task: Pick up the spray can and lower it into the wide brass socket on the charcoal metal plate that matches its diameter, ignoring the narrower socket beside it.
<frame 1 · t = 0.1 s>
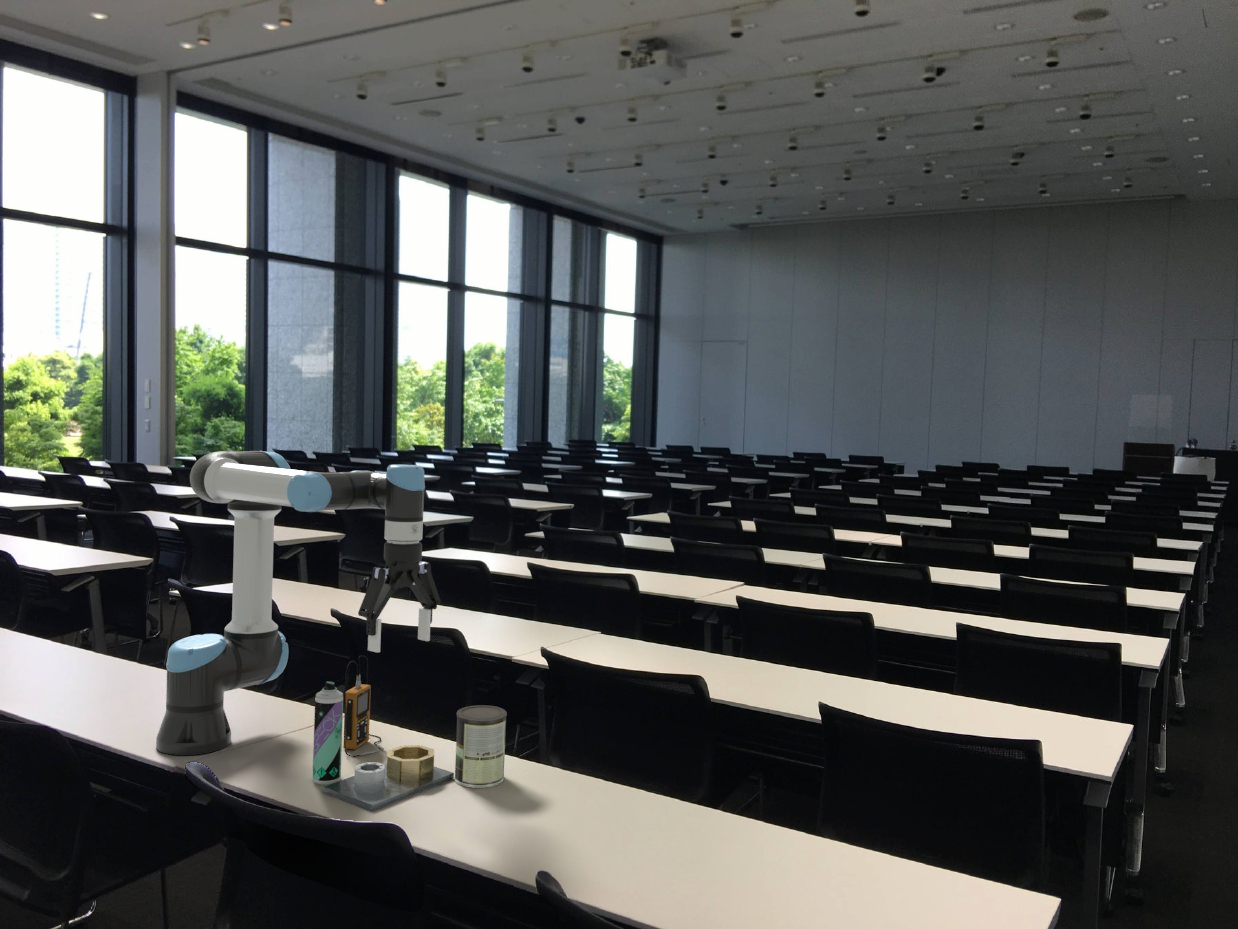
hand: (399, 645, 197), 28 cm above the table, tool pointing down, fingers open, 13 cm apart
multimeter: (371, 748, 217), on the table
fitting plate: (390, 785, 195), on the table
spray can: (326, 780, 197), on the table
coffee can: (479, 780, 201), on the table
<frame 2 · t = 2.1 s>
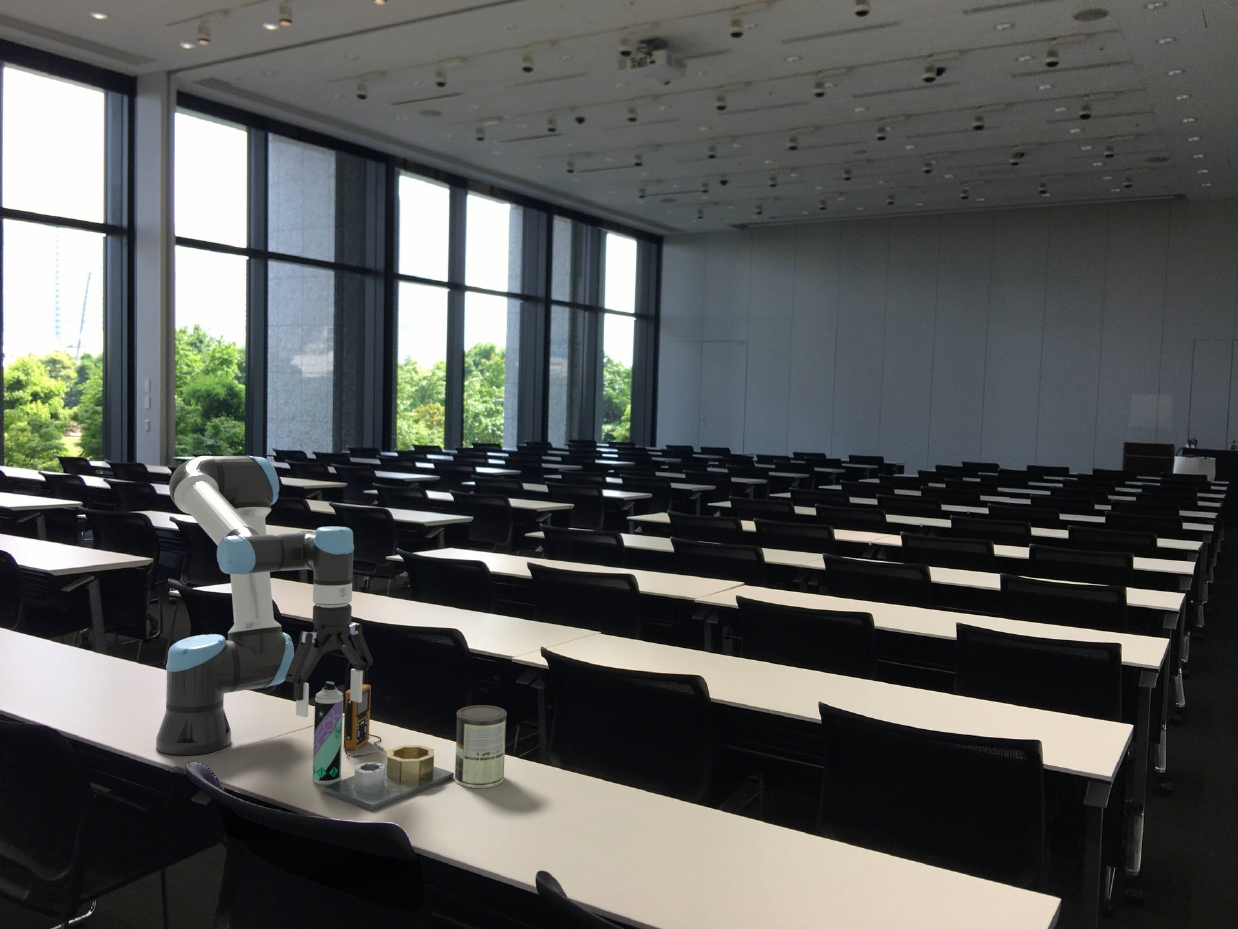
hand: (329, 708, 196), 15 cm above the table, tool pointing down, fingers open, 13 cm apart
nothing on the table moved.
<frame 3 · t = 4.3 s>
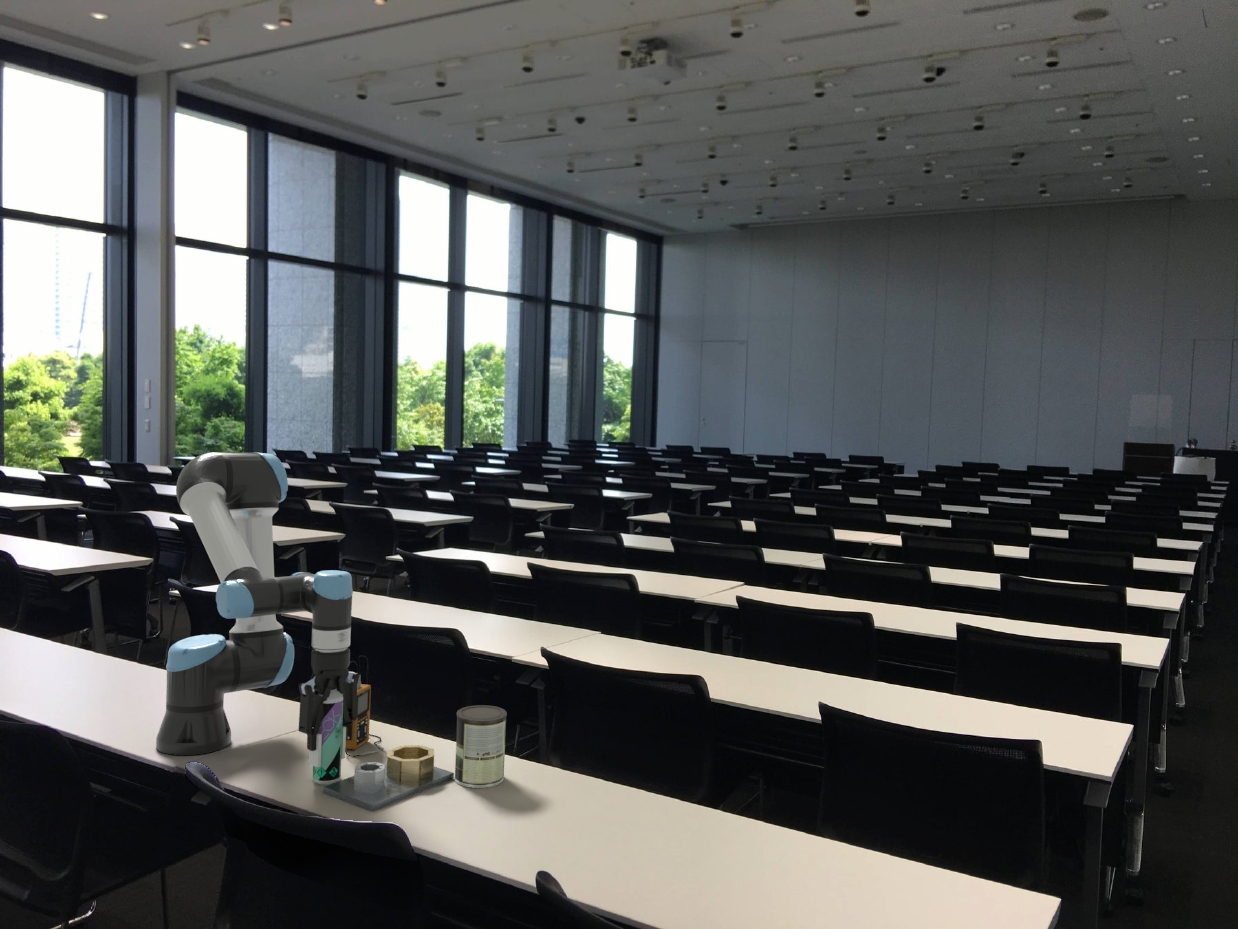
hand: (327, 761, 197), 4 cm above the table, tool pointing down, fingers closed on spray can, 5 cm apart
spray can: (326, 780, 197), on the table, touching gripper
everything else where it was.
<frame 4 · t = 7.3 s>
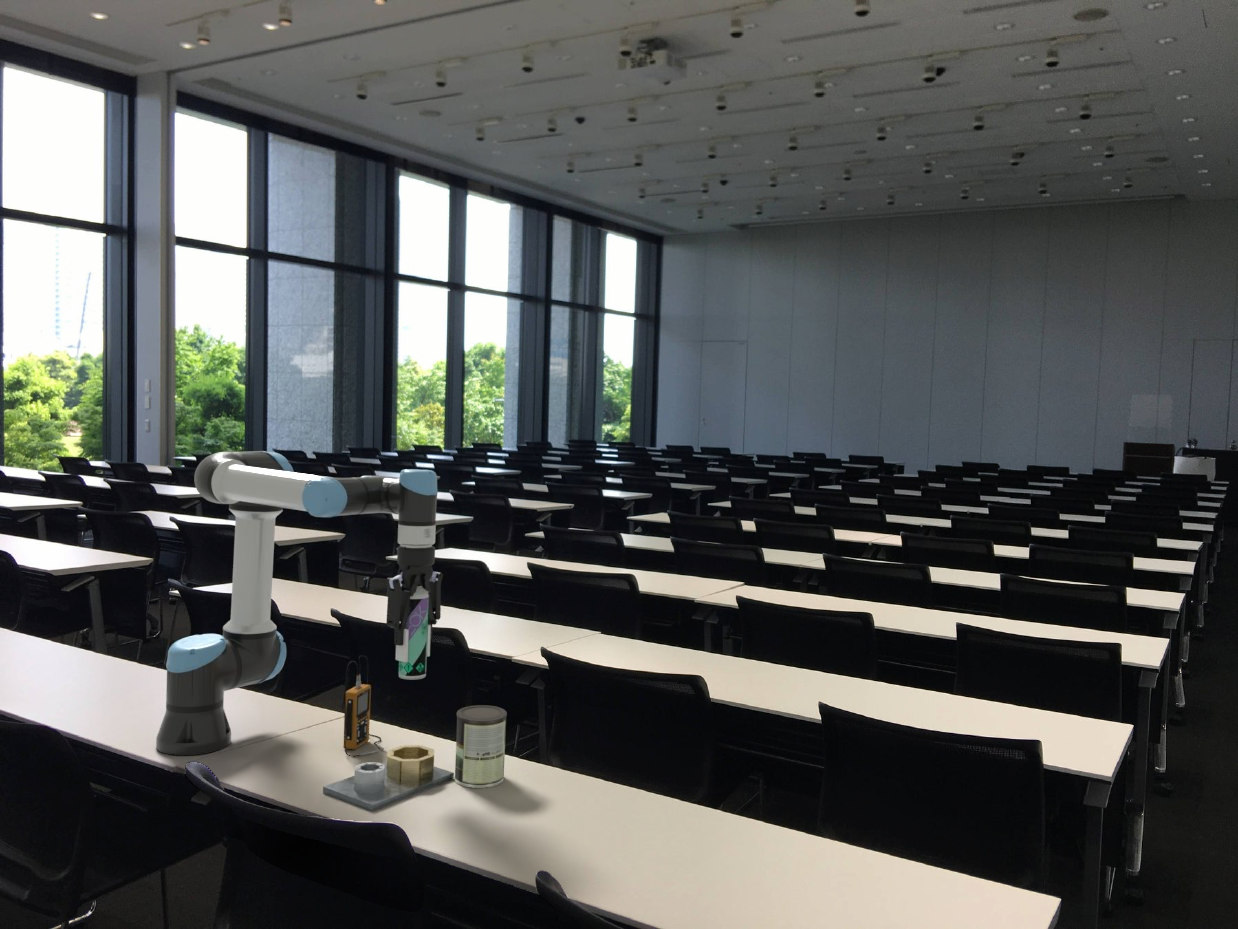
hand: (412, 657, 199), 25 cm above the table, tool pointing down, fingers closed on spray can, 5 cm apart
spray can: (412, 677, 199), point 21 cm above the table, touching gripper
everything else where it was.
when the fingers open (7 cm above the table, at t = 10.5 s): spray can drops 2 cm, resting on fitting plate.
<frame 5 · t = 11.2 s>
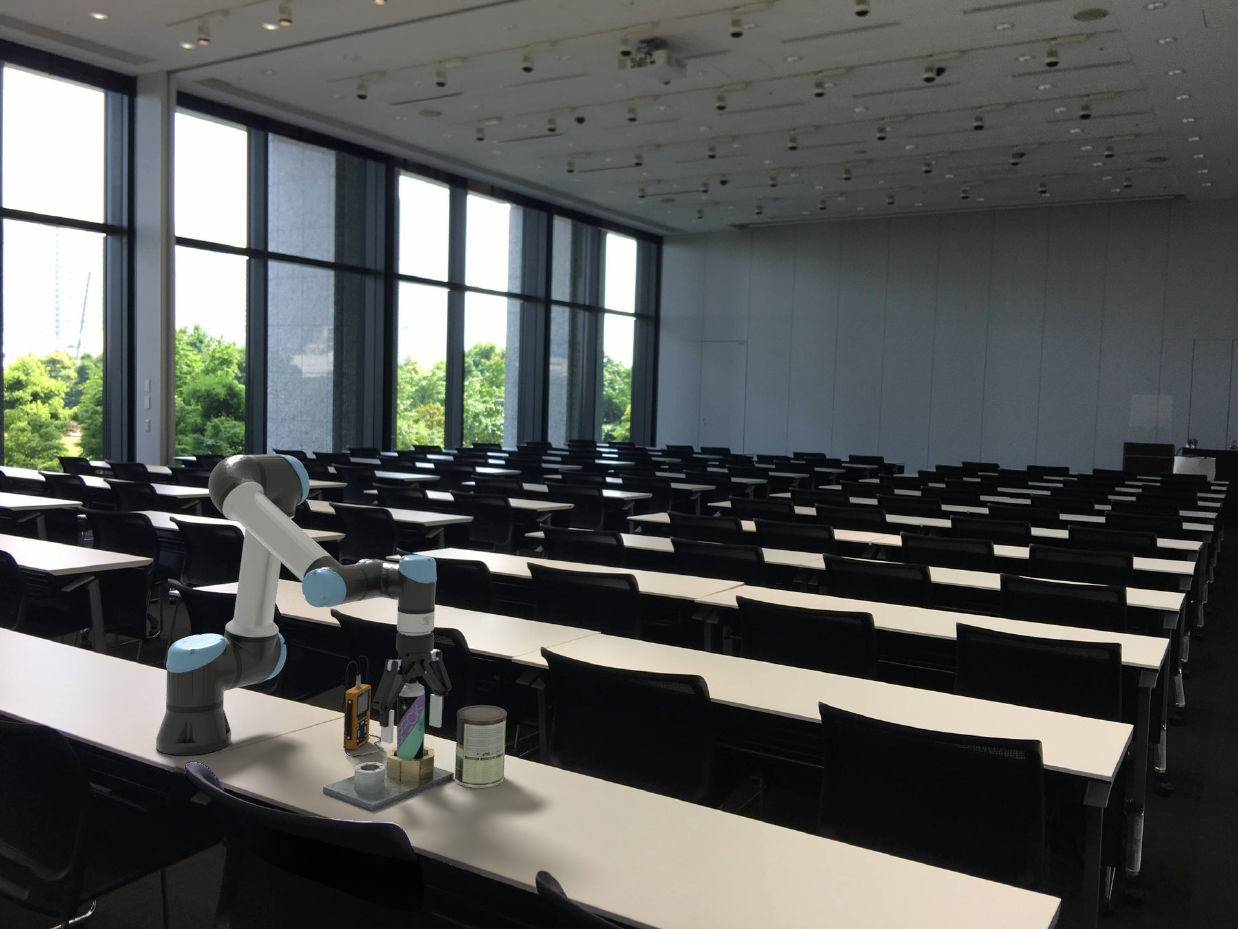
hand: (411, 733, 200), 9 cm above the table, tool pointing down, fingers open, 13 cm apart
spray can: (410, 772, 200), point 1 cm above the table, touching fitting plate
everything else where it was.
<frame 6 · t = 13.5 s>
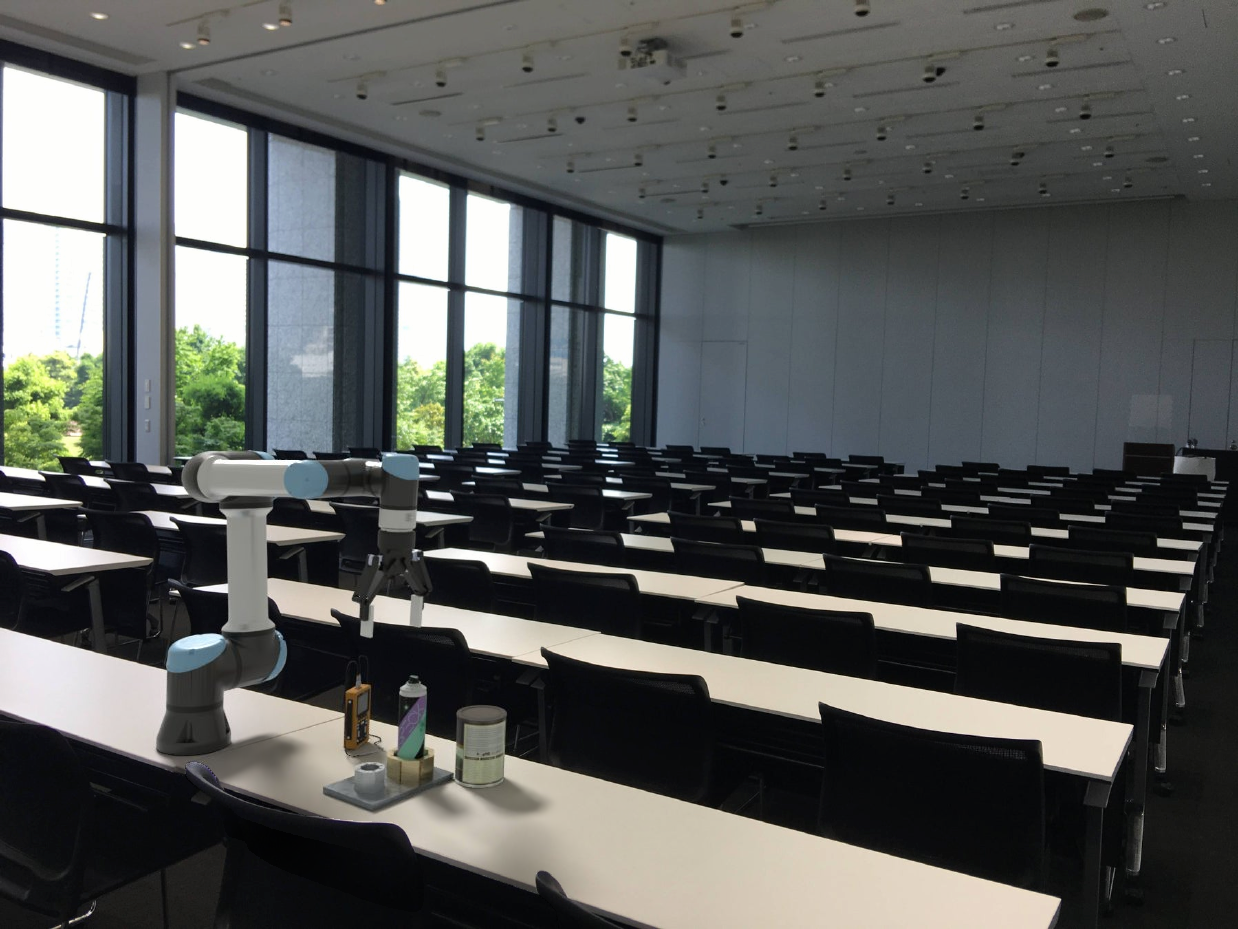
hand: (391, 631, 200), 30 cm above the table, tool pointing down, fingers open, 13 cm apart
nothing on the table moved.
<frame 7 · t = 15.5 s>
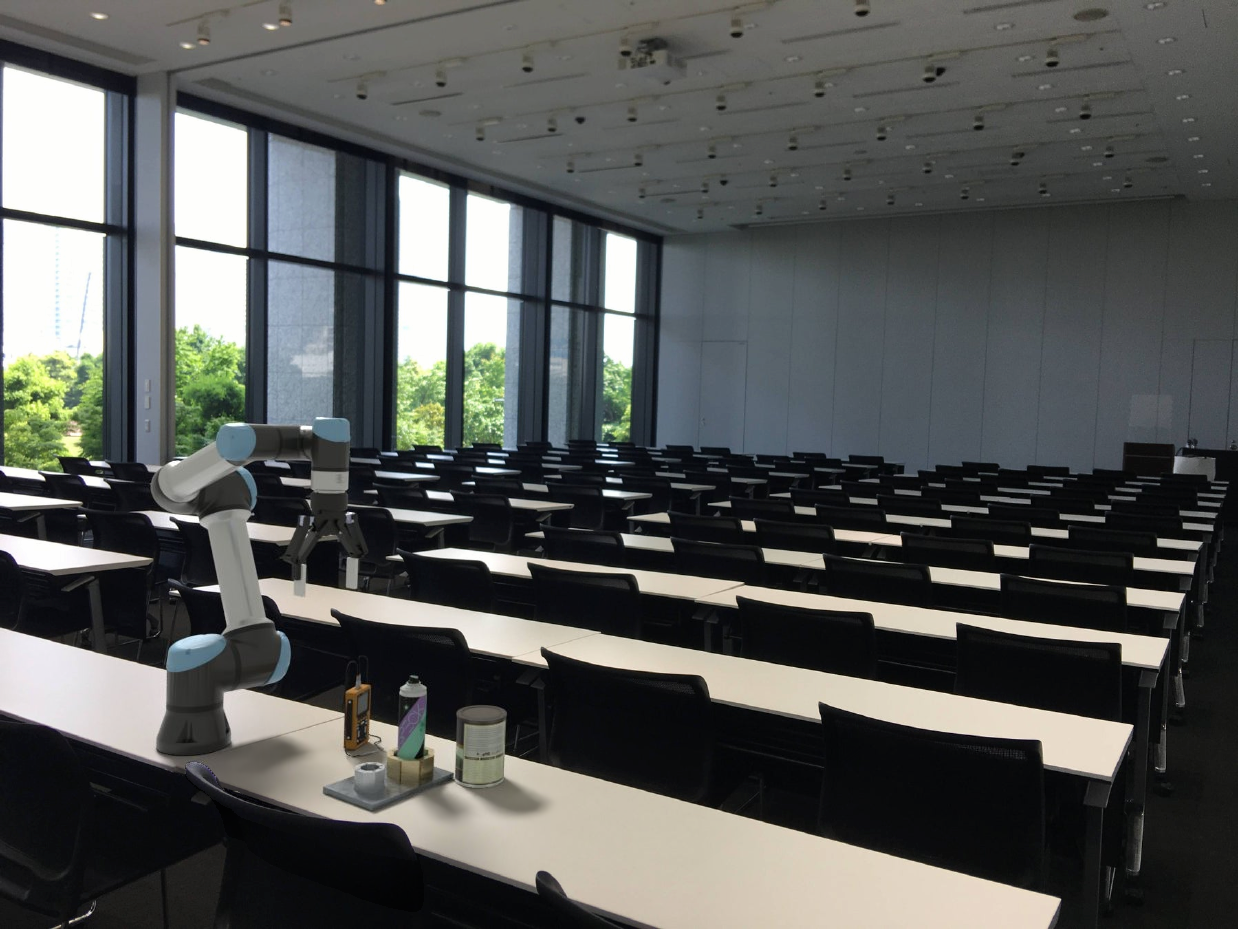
hand: (326, 592, 204), 37 cm above the table, tool pointing down, fingers open, 13 cm apart
nothing on the table moved.
at the end: spray can 0.0 cm from the target spot on the fitting plate, point 1.0 cm above the fitting plate's base; spray can tilted 0°; the gripper is holding nothing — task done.
